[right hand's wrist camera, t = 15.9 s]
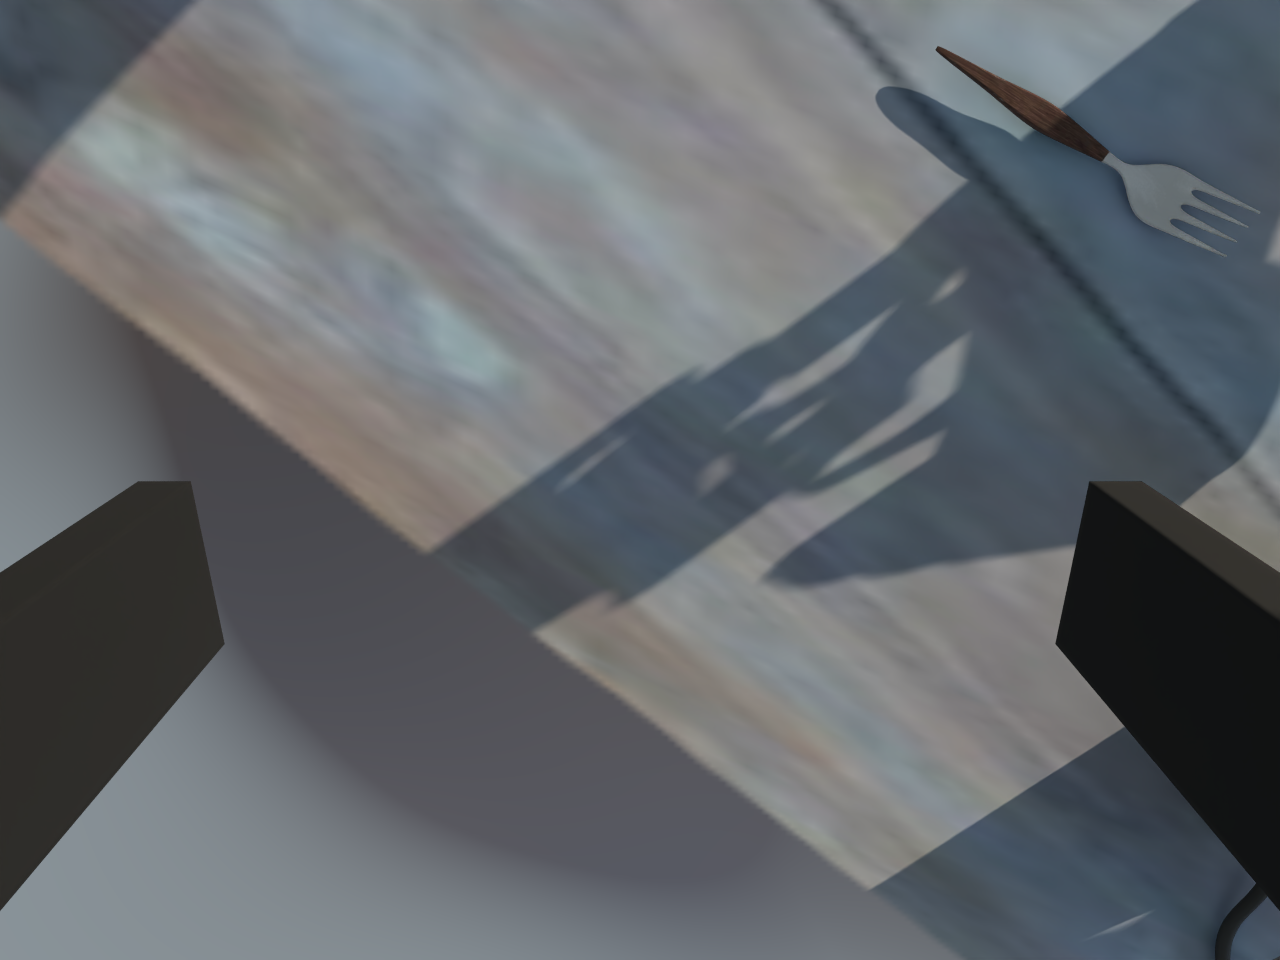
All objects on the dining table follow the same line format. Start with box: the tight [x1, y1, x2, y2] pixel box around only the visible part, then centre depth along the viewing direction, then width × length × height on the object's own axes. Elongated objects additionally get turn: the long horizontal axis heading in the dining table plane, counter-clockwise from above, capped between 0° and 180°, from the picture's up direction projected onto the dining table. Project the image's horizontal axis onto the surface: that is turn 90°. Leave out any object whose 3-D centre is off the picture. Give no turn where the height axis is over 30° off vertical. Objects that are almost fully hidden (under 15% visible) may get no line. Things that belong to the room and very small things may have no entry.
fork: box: [936, 46, 1260, 257], centre depth 37 cm, size 3×16×2 cm, turn 62°
